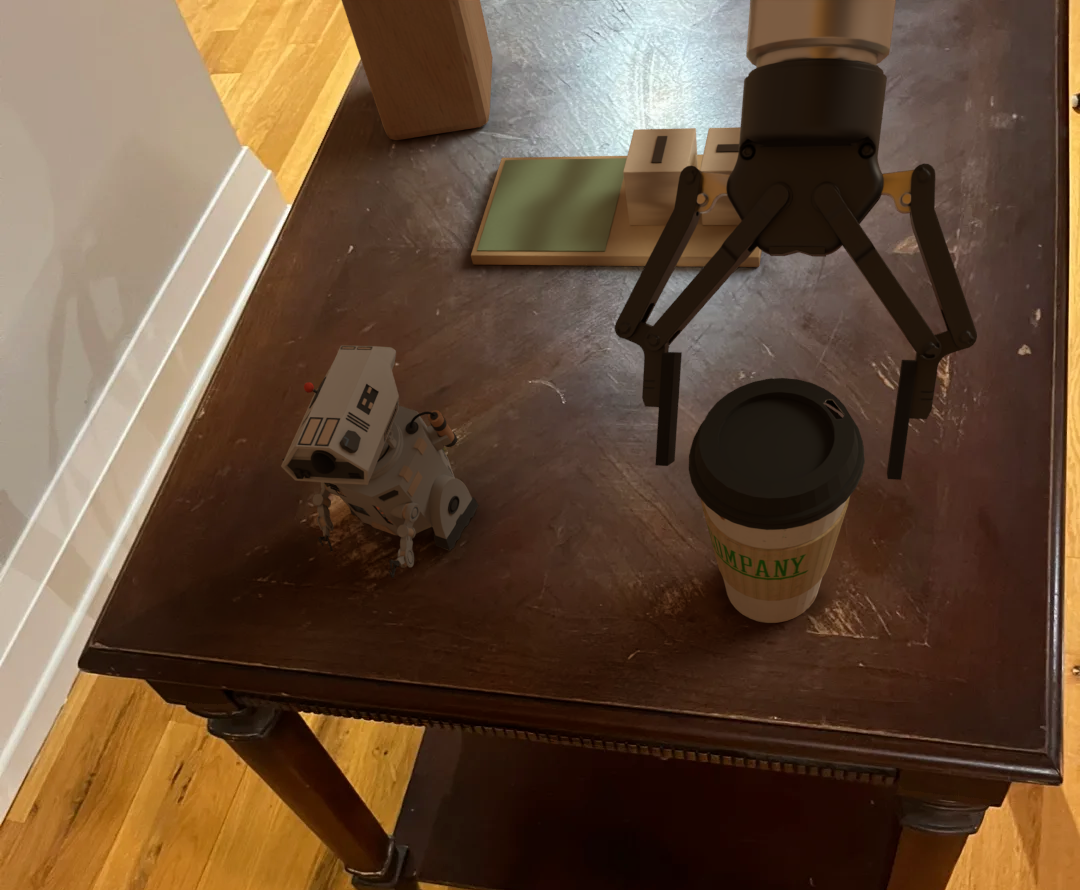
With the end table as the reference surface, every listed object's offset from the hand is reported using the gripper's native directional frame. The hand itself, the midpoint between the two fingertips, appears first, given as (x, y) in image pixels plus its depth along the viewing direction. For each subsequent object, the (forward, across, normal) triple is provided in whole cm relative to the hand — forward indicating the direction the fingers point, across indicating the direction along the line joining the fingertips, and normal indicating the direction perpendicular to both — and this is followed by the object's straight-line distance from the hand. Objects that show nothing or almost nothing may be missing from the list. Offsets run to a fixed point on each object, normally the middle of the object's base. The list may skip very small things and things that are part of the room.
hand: (776, 470), depth 66 cm
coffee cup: (+8, 0, -6) cm, 10 cm away
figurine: (+7, +27, -7) cm, 29 cm away
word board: (-17, +16, -31) cm, 39 cm away
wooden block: (-27, +37, -41) cm, 61 cm away
